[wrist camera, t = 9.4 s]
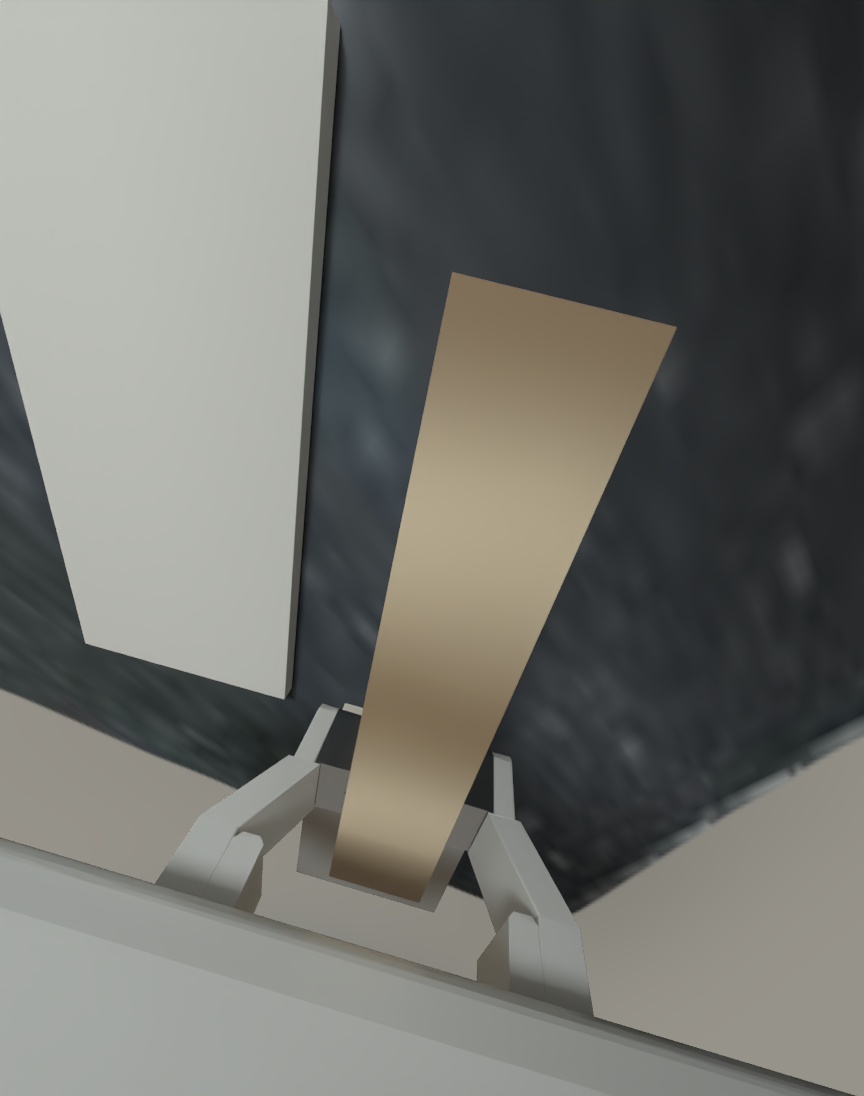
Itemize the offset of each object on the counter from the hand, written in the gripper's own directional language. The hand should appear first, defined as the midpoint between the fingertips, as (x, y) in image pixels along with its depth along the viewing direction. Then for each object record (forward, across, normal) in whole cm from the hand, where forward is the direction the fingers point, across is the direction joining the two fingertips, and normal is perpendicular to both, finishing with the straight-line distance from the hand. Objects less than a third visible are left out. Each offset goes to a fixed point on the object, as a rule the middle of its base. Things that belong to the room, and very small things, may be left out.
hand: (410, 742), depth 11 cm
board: (+7, +12, -4) cm, 14 cm away
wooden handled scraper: (+2, 0, 0) cm, 2 cm away
